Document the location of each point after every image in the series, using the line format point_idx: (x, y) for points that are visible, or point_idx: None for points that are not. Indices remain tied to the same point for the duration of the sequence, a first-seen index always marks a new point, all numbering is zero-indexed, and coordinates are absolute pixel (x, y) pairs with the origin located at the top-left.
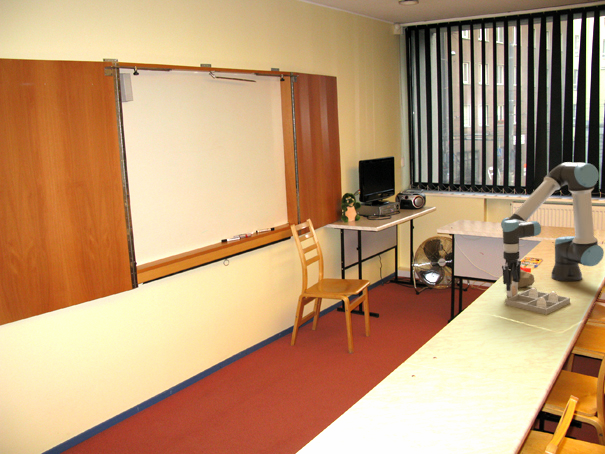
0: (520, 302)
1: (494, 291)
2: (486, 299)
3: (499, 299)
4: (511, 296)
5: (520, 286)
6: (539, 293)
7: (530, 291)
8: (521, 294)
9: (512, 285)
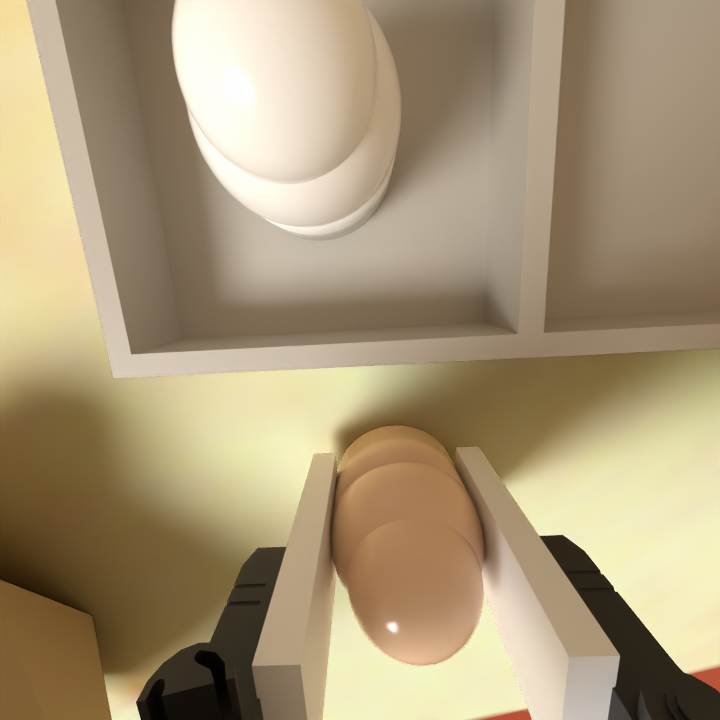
0: (623, 201)
1: (368, 705)
2: (690, 621)
3: (601, 520)
4: (482, 452)
5: (34, 600)
6: (107, 131)
7: (376, 107)
8: (419, 335)
9: (419, 636)
